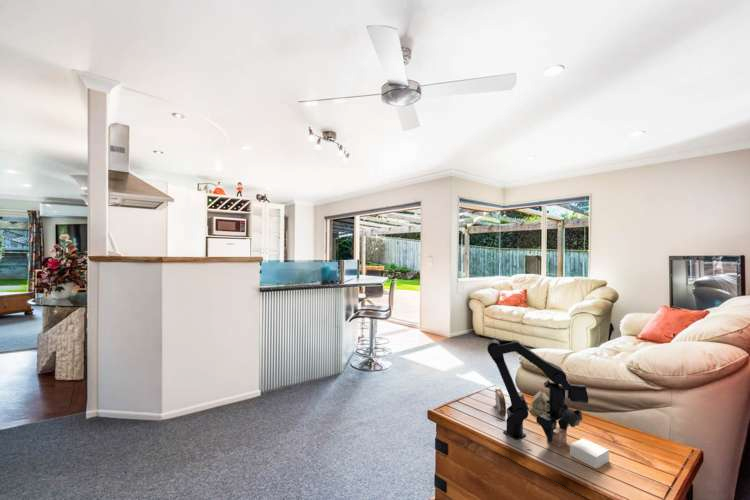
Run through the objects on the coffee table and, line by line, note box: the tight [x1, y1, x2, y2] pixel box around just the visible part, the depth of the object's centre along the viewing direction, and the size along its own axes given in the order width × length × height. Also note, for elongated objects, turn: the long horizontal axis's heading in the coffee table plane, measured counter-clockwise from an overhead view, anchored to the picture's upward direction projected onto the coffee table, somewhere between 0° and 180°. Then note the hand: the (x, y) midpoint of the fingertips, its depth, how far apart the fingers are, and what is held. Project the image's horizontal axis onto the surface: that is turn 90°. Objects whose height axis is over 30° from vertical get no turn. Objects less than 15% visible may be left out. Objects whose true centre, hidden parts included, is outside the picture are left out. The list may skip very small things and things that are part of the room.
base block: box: [569, 437, 610, 470], centre depth 120 cm, size 9×9×4 cm
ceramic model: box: [528, 389, 550, 416], centre depth 158 cm, size 14×11×10 cm
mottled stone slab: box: [494, 388, 507, 415], centre depth 158 cm, size 15×3×8 cm, turn 168°
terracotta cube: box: [546, 425, 568, 448], centre depth 130 cm, size 5×5×5 cm
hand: (556, 438), depth 130 cm, fingers open, 9 cm apart
